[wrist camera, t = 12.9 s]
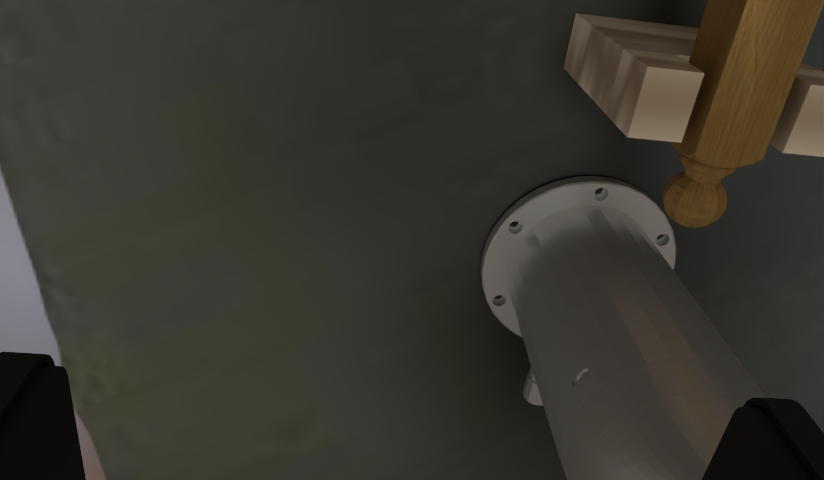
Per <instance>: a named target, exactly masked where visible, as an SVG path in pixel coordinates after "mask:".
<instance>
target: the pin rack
mask: <svg viewBox="0 0 824 480" xmlns="http://www.w3.org/2000/svg"><path fill="white" fill-rule="evenodd" d="M698 31H699V28H697V27H689V26H680V25H672V24H663V23H655V22H646V21H638V20H629V19H621V18H612V17H603V16H595V15H586V14H578V13H576V15H575V20H574V24H573V28H572V33H571V37H570V41H569V46H568V50H567V54H566V59H565V63H564V67H563V68H564V69H565V70H566V71H567V73H568V74H569V75H570V76H571V77H572V78H573V79H574V80H575V81H576V82H577V83H578V85H579V86H580V87H581V88H582V89H583V90H584V91H585V92H586V93H587V94H588V95H589V96H590V98H591V99H592V100H593V101H594V102H595V103H596V104H597V105H598V106H599V107H600V108H601V110H602V111H603V112H604V113H605V114H606V115H607V116H608V117H609V118H610V119H611V120H612V122H613V123H614V124H615V125H616V126H617V127H618V128H619V129H620V130H621V131H622V132H623V133H624V135H625V136H626V137H628V138H638V139H648V140H658V141H668V142H678V143H681V142H682V139H683V136H684V133H685V130H686V127H687V124H688V121H689V118H690V115H691V112H692V109H693V106H694V103H695V100H696V97H697V94H698V91H699V88H700V85H701V82H702V79H703V76H704V72H702V71H701V70H699V69H698V68H696V67H694V66H693V65H691V64H690V63H689V59H690V56H691V53H692V50H693V47H694V43H695V40H696V37H697V34H698ZM770 144H771V145H772V146H774V147H775V148H777V149H778V150H779V151H781V152H782V153H789V154H799V155H809V156H819V157H824V71H821V70H819V69H817V68H815V67H813V66H811V65H809V64H806V63H804V62H802V61H801V64H800V66H799V69H798V71H797V74H796V76H795V79H794V81H793V84H792V87H791V89H790V92H789V94H788V97H787V99H786V102H785V104H784V107H783V110H782V112H781V115H780V117H779V120H778V122H777V125H776V127H775V130H774V132H773V135H772V138H771V140H770Z"/></svg>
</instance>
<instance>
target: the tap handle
mask: <svg viewBox="0 0 824 480" xmlns="http://www.w3.org/2000/svg"><path fill="white" fill-rule="evenodd" d="M823 5H824V0H708V2H707V5H706V8H705V11H704V14H703V18H702V21H701V24H700V27H699V31H698V34H697V37H696V40H695V43H694V47H693V50H692V53H691V56H690V59H689V63H690V64H691V65H693V66H694V67H696V68H698V69H699V70H701V71H702V72H704V76H703V79H702V82H701V85H700V88H699V91H698V94H697V97H696V100H695V103H694V106H693V109H692V112H691V115H690V118H689V121H688V124H687V127H686V130H685V133H684V136H683V139H682V142H681V143H678V142H672V144H673V146H674V148H675V149H676V150H677V151H678V152H679V153H680V154H679V157H680V161H681V164H682V165H683V166H684V172H683V173H680V174H677V175H676V176H674V177H672V178H671V179H670V180H669V181H668V182H667V184H666V185H665V188H664V191H663V203H664V209H665V212H666V214H667V215H668V216H669V217H670V218H671V219H672V220H674V221H675V222H677V223H678V224H680V225H683V226H686V227H696V228H700V227H704V226H706V225H709V224H711V223H713V222H715V221H717V220H718V219H719V218H720V217H721V216H722V214H723V213H724V212H725V209H726V206H727V196H726V192H725V189H724V187H723V185H722V182H721V180H722V179H723V178H724V177H725V176H727V175H729V174H732V173H734V172H735V170H736V168H737V167H742V166H747V165H751V164H754V163H756V162H758V161H760V160H762V159H763V158H764V155H765V153H766V150H767V148H768V145H769V143H770V140H771V138H772V135H773V132H774V130H775V127H776V125H777V122H778V120H779V117H780V115H781V112H782V110H783V107H784V104H785V102H786V99H787V97H788V94H789V92H790V89H791V87H792V84H793V81H794V79H795V76H796V74H797V71H798V69H799V66H800V64H801V61H802V59H803V56H804V53H805V51H806V48H807V46H808V43H809V41H810V38H811V36H812V33H813V31H814V28H815V25H816V23H817V20H818V18H819V15H820V13H821V10H822V8H823Z"/></svg>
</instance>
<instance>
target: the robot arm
mask: <svg viewBox="0 0 824 480" xmlns="http://www.w3.org/2000/svg"><path fill="white" fill-rule="evenodd" d="M599 188H600V190H598V191H596V190H597V189H599ZM515 221H516V223H514V224H511V223H512V222H515ZM675 263H676V243H675V238H674V233H673V229H672V227H671V225H670V223H669V221H668V219H667V217H666V215H665V214H664V213H663V212H662V210H661V209H660V208H659V206H658V205H657V204H656V203H655V202H654V201H653V200H652V199H651V198H650V197H649V196H648V195H647V194H646V193H644V192H643V191H641V190H639V189H638V188H636V187H634V186H633V185H631V184H628V183H626V182H623V181H620V180H617V179H614V178H607V177H600V176H581V177H572V178H568V179H563V180H558V181H555V182H552V183H550V184H547V185H545V186H542V187H540V188H538V189H536V190H534V191H533V192H531V193H529V194H528V195H526V196H524V197H523V198H521V199H520V200H519V201H518V202H516V203H515V204H514V205H513V206H512V207H511V208H509V209H508V210H507V211H506V212H505V213H504V215H503V216H502V217H501V218H500V220H499V221H498V222H497V223H496V224H495V226H494V228H493V230H492V232H491V233H490V235H489V237H488V239H487V241H486V244H485V247H484V251H483V254H482V259H481V270H480V273H481V280H482V287H483V290H484V294H485V297H486V301H487V303H488V305H489V306H490V308H491V310H492V312H493V314H494V315H495V316H496V317H497V319H498V320H499V321H500V322H501V323H502V324H503V325H504V326H505V327H506V328H508V329H509V330H510V331H512V332H513V333H514V334H516V335H518V336H520V337H522V338H523V341H524V344H525V347H526V351H527V354H528V360H529V361H530V364H531V368H530V370H529V372H528V374H527V378H526V381H525V385H524V389H523V397H524V398H525V399H526V400H527V401H528V402H529V403H531V404H533V405H539V406H542V405H543V406H544V409H545V412H546V416H547V419H548V422H549V425H550V429H551V432H552V435H553V438H554V442H555V445H556V448H557V451H558V455H559V458H560V461H561V464H562V467H563V470H564V473H565V476H566V479H567V480H824V433H823V432H822V431H821V429H820V428H819V427H818V426H817V424H816V423H815V422H814V420H813V419H812V418H811V417H810V415H809V414H808V413H807V412H806V410H805V409H804V408H803V407H802V406H801V405H800V404H799V403H798V402H796V401H794V400H791V399H775V398H767V397H766V396H765V394H764V393H763V392H762V390H761V389H760V388H759V386H758V385H757V384H756V383H755V382H754V380H753V379H752V377H751V376H750V375H749V373H748V372H747V371H746V369H745V368H744V366H743V365H742V364H741V362H740V361H739V360H738V358H737V357H736V356H735V354H734V353H733V351H732V350H731V349H730V347H729V346H728V345H727V343H726V342H725V340H724V339H723V338H722V336H721V335H720V334H719V332H718V331H717V330H716V328H715V327H714V325H713V324H712V323H711V321H710V320H709V319H708V317H707V316H706V314H705V313H704V312H703V310H702V309H701V308H700V306H699V305H698V304H697V302H696V301H695V299H694V298H693V297H692V295H691V294H690V293H689V291H688V290H687V289H686V287H685V286H684V284H683V283H682V282H681V280H680V279H679V278H678V276H677V275H676V273H675V272H674V271H673V270H674V266H675ZM0 480H86V479H85V473H84V467H83V461H82V456H81V450H80V444H79V438H78V433H77V427H76V421H75V415H74V409H73V403H72V397H71V392H70V386H69V380H68V375H67V371H66V369H65V368H64V367H61V366H55V365H54V361H53V359H52V358H51V356H50V355H46V354H32V353H15V352H1V353H0Z"/></svg>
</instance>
